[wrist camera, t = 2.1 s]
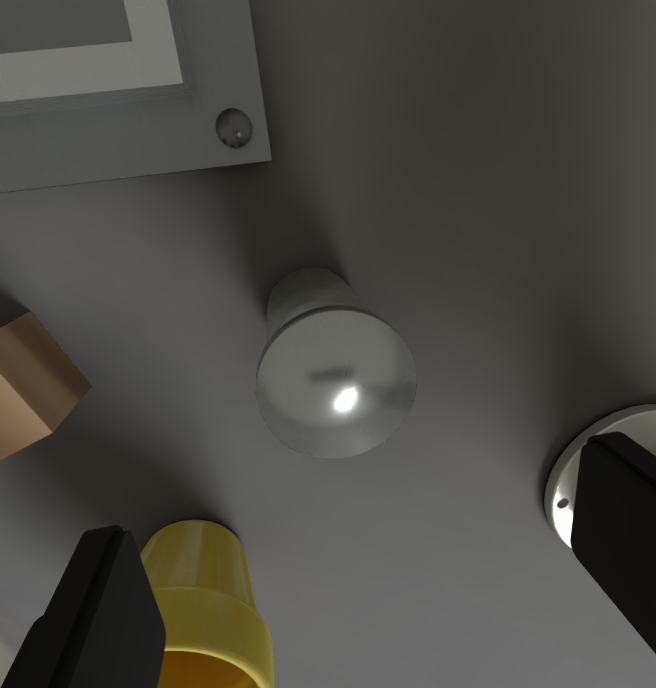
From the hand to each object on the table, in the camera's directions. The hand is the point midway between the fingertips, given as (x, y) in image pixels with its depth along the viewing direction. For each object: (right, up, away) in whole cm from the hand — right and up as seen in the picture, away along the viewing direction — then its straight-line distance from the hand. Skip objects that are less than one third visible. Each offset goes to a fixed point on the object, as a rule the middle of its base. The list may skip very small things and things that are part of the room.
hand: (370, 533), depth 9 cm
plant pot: (-10, -11, +21) cm, 26 cm away
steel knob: (-2, +6, +16) cm, 17 cm away
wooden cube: (-17, +2, +15) cm, 23 cm away
